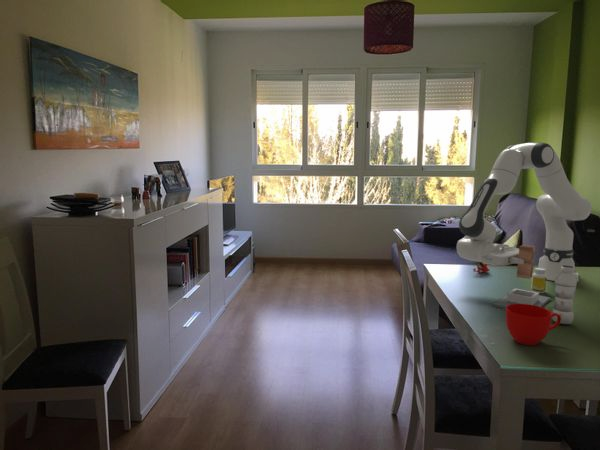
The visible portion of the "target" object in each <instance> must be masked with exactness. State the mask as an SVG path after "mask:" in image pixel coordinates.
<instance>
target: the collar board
mask: <svg viewBox="0 0 600 450" xmlns="http://www.w3.org/2000/svg"><path fill="white" fill-rule="evenodd" d="M550 301H551V297H549V296H547V295H546V296H545V295H540V293H537V292H532V291H531V290H525V289H520V288H513V289H512V290H510V291H509V292H507V294H506V295H505V296H503V297H502V298H500V299H499V300H497V301H496V302H494V303H493V307H494V308H500V309H503V310H506V307H507V306H508V305H511V304H528V305H535V306H539V307H542V308H543V307H544V306H546V304H547V303H548V302H550Z"/></svg>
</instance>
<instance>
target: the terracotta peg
mask: <svg viewBox="0 0 600 450" xmlns="http://www.w3.org/2000/svg"><path fill="white" fill-rule="evenodd" d="M518 248H519V257H518V259H525V264H517V271H516V278H521V279H527V280H530V279H532V274H533V273H534V272H533V271H534V261H535V252H536V246H535V245H528V244H527V245H526V244H522V245H519V247H518Z"/></svg>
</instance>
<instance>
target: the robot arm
mask: <svg viewBox="0 0 600 450" xmlns="http://www.w3.org/2000/svg"><path fill="white" fill-rule="evenodd" d="M522 169H523V170H529V169H533V171H534V174H535V176H536V179H537V182H538V184H539V187H540V189H541V190H542V192H544V194H541V195H540V196H538V198H537V199H536V202H535V209H536V211H537V212H538V213H539V214H540V216H541V217H542V219H543V222H544V226H545V227H544V228H545V243H544V244H545V246H544V247H543V256H541V257H540V258H539V261H538V267H537V268H543V269H545V273H544V274H545V275H546V281H552V282H555V279H556V277H557V276H558V275H559V274H560V273H561V271H560V270H561V266H562V265H567V266H572V267H574V268H575V267H576V266H575V264H576V263H575V261H574V258H573V257H574V250H573V243H574V236H575V235H574V232H573V230H572V229H571V228H570V226H569V225H568V223H567V220H568V221H585V220H586V219H588V217H589V216H590V214H591V212H592V205H591V202H590V201H589V199H587V198H585V197H584V196H582V195H581V193H579V192H578V191H577V190H576V189H575V187H574V186H573V185H572V184H571V182H570V181H569V179H568V177H567V175H566V172H565V170H564V166H563V163H562V162H561V160H560V158H559V156H558V153H557V152H556V151H555V149H554V148H553V147H552V145H551V144H549V143H546V142H524V143H518V144H517V143H515V144H511V145H508V146H507V147H506V148H505V149H504V150H502V151H501V152H500V153H499V155H498V156H497V158H496V160H495V162H494V164H493V166H492V168H491V171H490V173H489V174H488V176H487V179H484V180H483V182H482V183H481V184H480V186H479V188H478V190H477V192H476V194H475V196H474V198H473V200H471V204H470V205H469V207H468V208H467V210H466V211H465V212H464V213H463V215H462V216H461V217H460V220H459V221H458V229H459V231H460V233H462V234H463V235H464V236H463V237H462V238H461V239H459V240H457V243H456V252H457V254H458V256H459V257H460V258H462V259H465V260H467V261H471V262H473V261H475V262H482V263H485V264H487V265H489V266H496V267H497V266H499V267H505V266H509V265H512V264H517V265H518V264H525V259H518V257H519V247H513V246H510V245H509V244H505V243H503V244H501V243H494V241H495V238H496V236H497V228H496V226H495V225H494V224H493V223H492V222H491V221H489V220H488V219H486V218H485V212H486V210H487V209H488V207H489V204H490V202H491V200H492V199H493V198H494V197H495V196H496V195H507V194H509V193H510V192H512V191H513V190H514V188H515V186H516V184H517V182H518V179H519V177H520V173H521V170H522ZM573 271H574V272H573V273H572V274H573V276H574V277H575V279H576V282H577V283H579V278H580V277H579V272H577V270H576V269H574V270H573ZM533 273H535V271H534V272H533Z"/></svg>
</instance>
